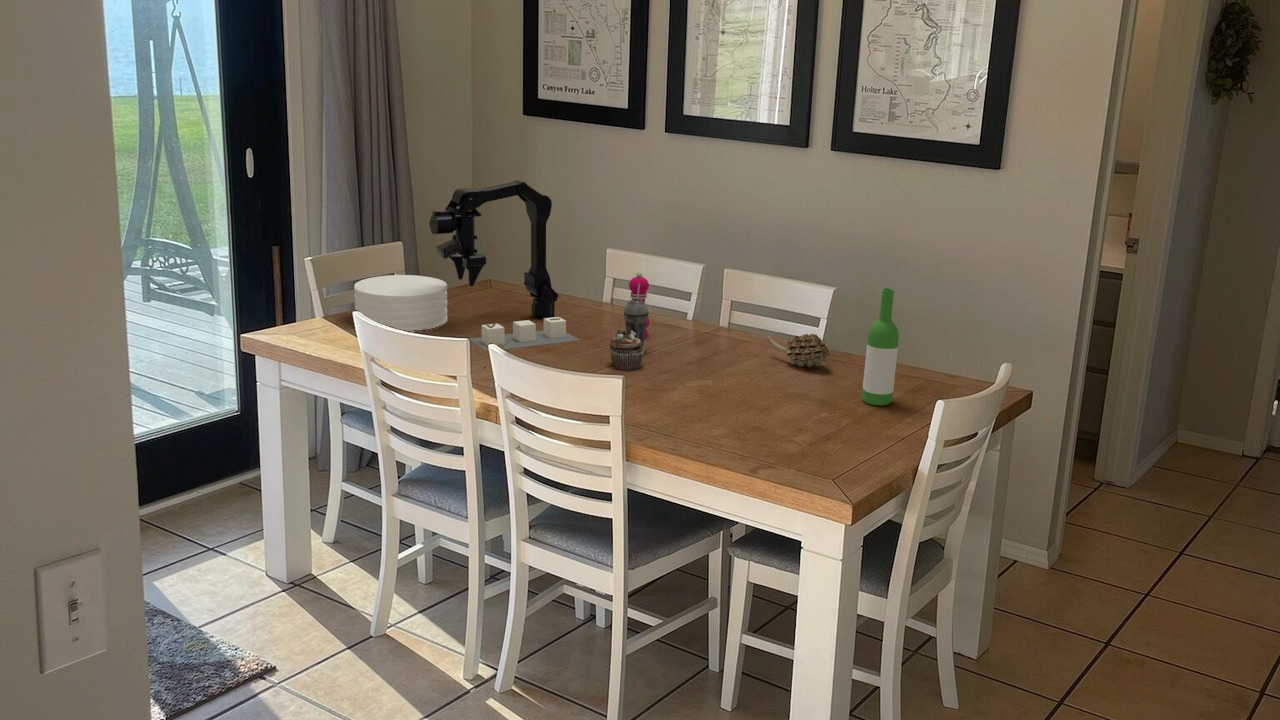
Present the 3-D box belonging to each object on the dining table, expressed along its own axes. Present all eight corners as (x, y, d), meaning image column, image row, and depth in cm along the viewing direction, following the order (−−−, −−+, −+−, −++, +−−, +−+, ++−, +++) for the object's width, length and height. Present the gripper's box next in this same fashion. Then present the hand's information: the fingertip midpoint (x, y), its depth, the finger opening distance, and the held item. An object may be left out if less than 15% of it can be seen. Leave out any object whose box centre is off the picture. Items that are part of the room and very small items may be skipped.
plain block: (528, 336, 345) (528, 320, 343) (535, 340, 341) (535, 324, 339) (513, 338, 342) (513, 321, 341) (520, 342, 338) (520, 325, 337)
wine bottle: (887, 397, 304) (899, 286, 295) (895, 407, 296) (907, 293, 288) (858, 396, 304) (869, 285, 295) (865, 406, 296) (876, 292, 287)
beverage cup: (617, 352, 334) (619, 284, 329) (629, 346, 341) (632, 280, 335) (639, 356, 331) (642, 288, 325) (651, 350, 337) (654, 283, 332)
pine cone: (836, 369, 327) (839, 335, 324) (818, 376, 320) (821, 341, 317) (771, 352, 340) (773, 320, 337) (752, 359, 333) (755, 325, 330)
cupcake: (614, 371, 317) (615, 336, 314) (605, 361, 326) (606, 326, 323) (647, 369, 319) (649, 335, 316) (638, 359, 328) (639, 325, 325)
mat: (559, 330, 355) (559, 328, 355) (580, 341, 343) (580, 339, 343) (467, 340, 340) (467, 338, 340) (486, 353, 328) (486, 351, 328)
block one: (558, 332, 350) (558, 316, 348) (565, 336, 346) (566, 320, 344) (543, 334, 347) (543, 317, 346) (550, 338, 343) (551, 321, 342)
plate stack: (438, 335, 345) (437, 297, 342) (344, 331, 345) (343, 293, 342) (454, 311, 372) (454, 276, 369) (368, 308, 372) (367, 273, 369)
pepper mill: (649, 333, 355) (652, 270, 349) (647, 340, 348) (650, 275, 342) (626, 332, 356) (628, 268, 350) (623, 338, 349) (626, 273, 343)
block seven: (497, 339, 340) (497, 322, 338) (504, 344, 336) (504, 327, 334) (481, 341, 337) (481, 324, 336) (488, 346, 333) (488, 328, 332)
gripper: (428, 227, 348) (429, 278, 353) (450, 239, 333) (451, 292, 337) (463, 225, 353) (463, 275, 358) (486, 236, 338) (487, 288, 343)
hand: (465, 282), depth 349 cm, fingers open, 9 cm apart
